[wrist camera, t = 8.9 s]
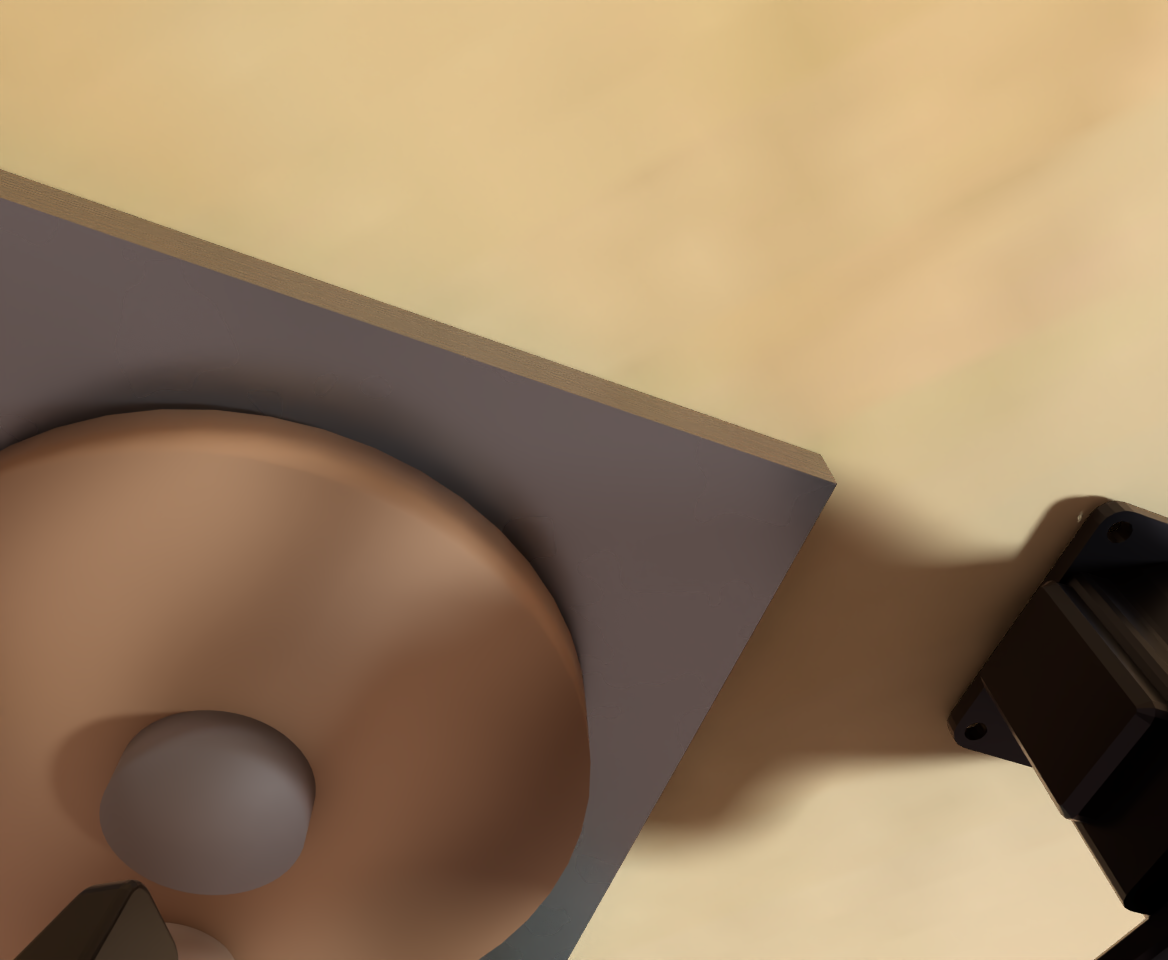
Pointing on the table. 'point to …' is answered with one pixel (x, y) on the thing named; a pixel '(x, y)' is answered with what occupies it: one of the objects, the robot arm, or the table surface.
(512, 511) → the level stand
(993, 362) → the table surface
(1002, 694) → the robot arm
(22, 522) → the cam dial
